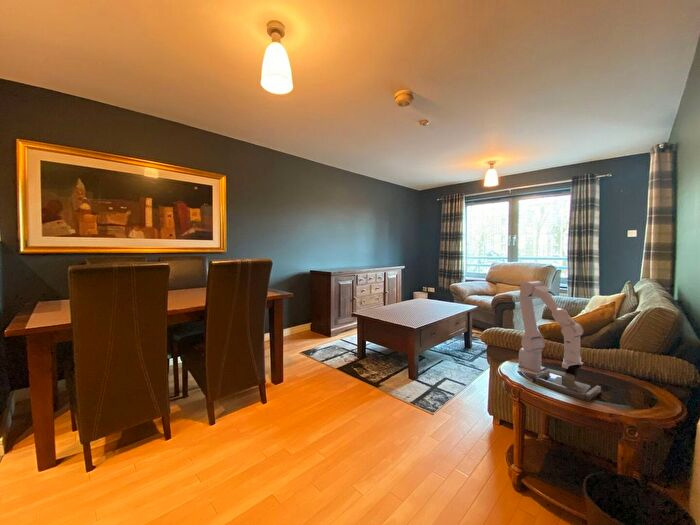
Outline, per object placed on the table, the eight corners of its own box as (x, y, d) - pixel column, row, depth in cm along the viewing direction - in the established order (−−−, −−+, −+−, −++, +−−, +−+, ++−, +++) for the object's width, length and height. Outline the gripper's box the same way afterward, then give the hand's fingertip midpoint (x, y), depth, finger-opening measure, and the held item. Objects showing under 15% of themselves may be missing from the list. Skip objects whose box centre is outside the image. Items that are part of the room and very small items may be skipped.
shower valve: (551, 365, 138) (591, 375, 126) (551, 376, 138) (591, 387, 127) (541, 372, 130) (583, 384, 119) (541, 384, 131) (583, 397, 119)
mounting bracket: (532, 382, 132) (532, 376, 132) (546, 374, 139) (546, 369, 139) (587, 401, 115) (587, 395, 115) (600, 392, 122) (600, 386, 122)
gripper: (575, 356, 122) (575, 388, 123) (589, 349, 130) (589, 379, 131) (556, 351, 128) (556, 381, 129) (571, 345, 136) (570, 373, 137)
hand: (571, 380), depth 130 cm, fingers closed
